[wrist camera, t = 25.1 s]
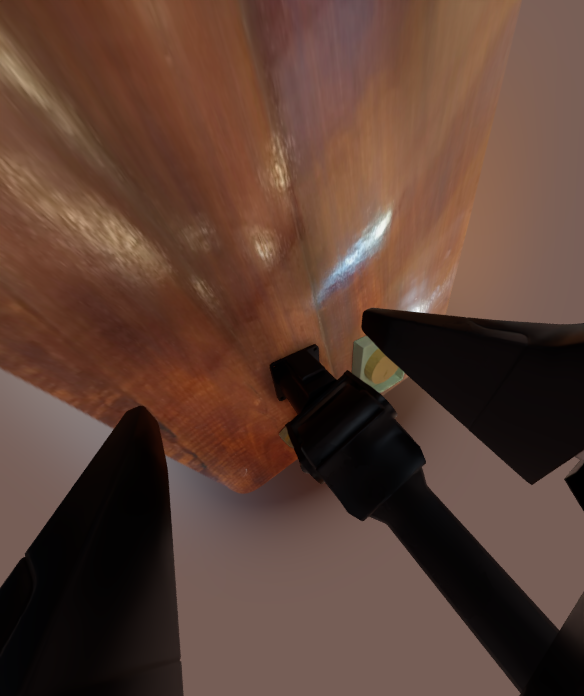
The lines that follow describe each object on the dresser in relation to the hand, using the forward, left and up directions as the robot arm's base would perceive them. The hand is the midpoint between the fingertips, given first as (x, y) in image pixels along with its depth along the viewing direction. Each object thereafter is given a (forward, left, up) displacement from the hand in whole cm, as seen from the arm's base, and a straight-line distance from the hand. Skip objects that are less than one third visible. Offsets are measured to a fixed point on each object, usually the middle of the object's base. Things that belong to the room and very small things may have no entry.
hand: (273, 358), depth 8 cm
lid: (-20, -21, -10) cm, 31 cm away
